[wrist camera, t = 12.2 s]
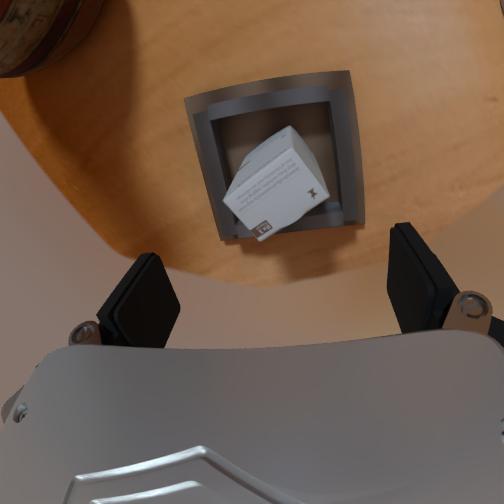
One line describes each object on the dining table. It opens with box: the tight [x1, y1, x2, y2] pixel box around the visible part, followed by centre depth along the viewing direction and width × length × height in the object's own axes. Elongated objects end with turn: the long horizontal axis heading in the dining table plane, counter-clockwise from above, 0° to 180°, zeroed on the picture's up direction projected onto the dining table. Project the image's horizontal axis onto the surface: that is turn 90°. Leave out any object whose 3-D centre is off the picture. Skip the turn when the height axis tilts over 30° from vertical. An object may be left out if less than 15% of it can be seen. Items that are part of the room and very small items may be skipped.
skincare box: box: [223, 125, 330, 242], centre depth 23 cm, size 6×4×12 cm
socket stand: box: [184, 70, 365, 241], centre depth 28 cm, size 17×17×4 cm
